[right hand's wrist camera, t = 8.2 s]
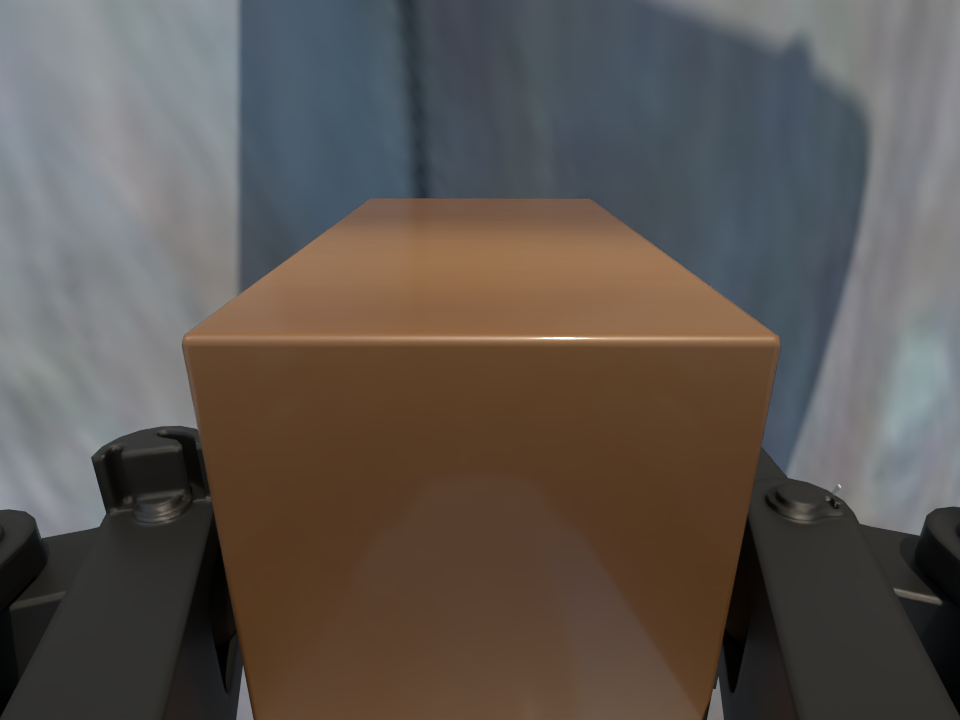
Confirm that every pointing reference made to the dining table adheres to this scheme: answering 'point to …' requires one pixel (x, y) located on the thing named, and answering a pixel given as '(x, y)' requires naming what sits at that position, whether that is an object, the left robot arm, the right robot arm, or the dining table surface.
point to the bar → (480, 466)
